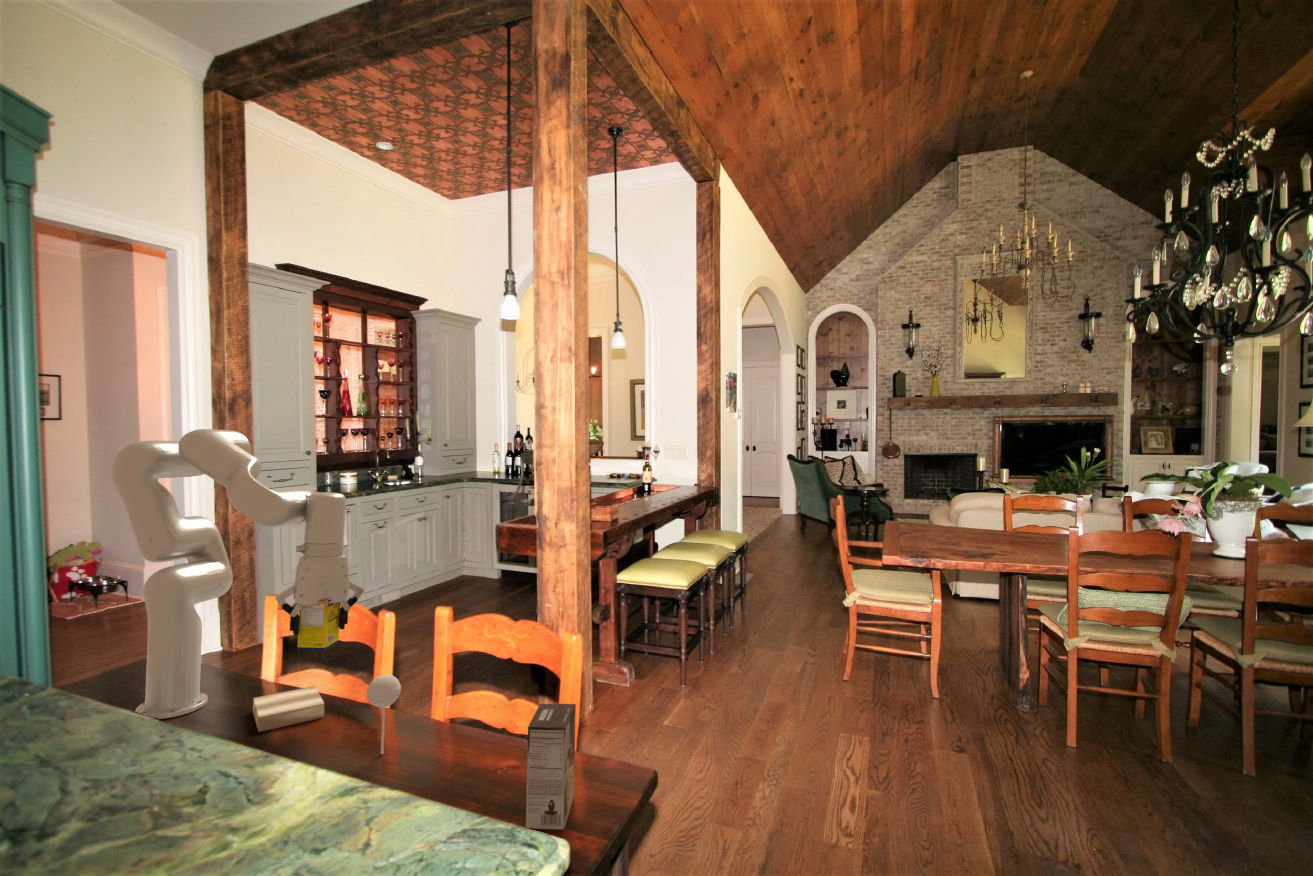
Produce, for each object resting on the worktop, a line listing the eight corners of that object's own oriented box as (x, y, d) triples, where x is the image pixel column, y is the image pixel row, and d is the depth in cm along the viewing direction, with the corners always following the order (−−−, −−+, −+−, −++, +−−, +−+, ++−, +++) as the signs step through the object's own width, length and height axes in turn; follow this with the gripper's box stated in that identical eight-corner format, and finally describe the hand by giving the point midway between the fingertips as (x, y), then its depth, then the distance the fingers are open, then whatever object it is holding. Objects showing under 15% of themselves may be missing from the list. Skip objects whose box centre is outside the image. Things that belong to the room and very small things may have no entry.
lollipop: (406, 749, 119) (408, 672, 119) (383, 764, 113) (386, 683, 114) (380, 744, 121) (383, 668, 121) (357, 758, 115) (360, 678, 116)
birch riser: (252, 711, 134) (253, 698, 134) (314, 699, 142) (314, 686, 142) (258, 732, 125) (258, 717, 125) (323, 717, 132) (324, 703, 132)
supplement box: (338, 643, 134) (341, 593, 134) (325, 652, 128) (328, 600, 128) (311, 642, 134) (314, 592, 134) (296, 651, 128) (299, 599, 128)
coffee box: (537, 796, 104) (539, 701, 104) (574, 797, 104) (576, 703, 104) (524, 829, 95) (527, 725, 95) (565, 831, 95) (567, 727, 95)
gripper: (278, 555, 123) (273, 642, 123) (371, 550, 134) (366, 629, 134) (274, 549, 129) (269, 632, 129) (363, 545, 140) (358, 621, 139)
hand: (318, 630), depth 131 cm, fingers closed on supplement box, 8 cm apart
